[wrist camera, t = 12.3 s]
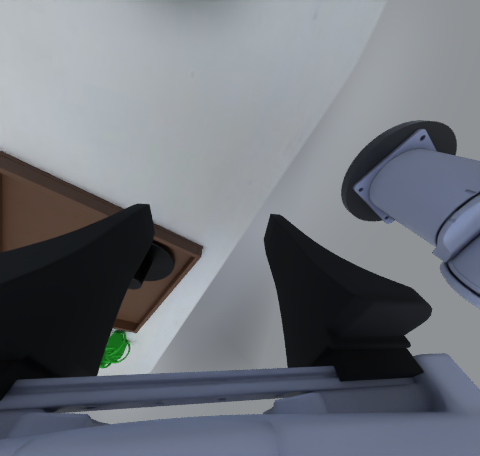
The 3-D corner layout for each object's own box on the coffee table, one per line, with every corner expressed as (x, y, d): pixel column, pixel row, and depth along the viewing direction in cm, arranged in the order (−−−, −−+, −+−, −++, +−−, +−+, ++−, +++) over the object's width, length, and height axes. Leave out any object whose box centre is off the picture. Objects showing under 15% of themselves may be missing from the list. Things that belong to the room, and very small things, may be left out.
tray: (202, 246, 24) (201, 256, 22) (140, 322, 35) (136, 333, 33) (-1, 150, 15) (-28, 155, 14) (0, 290, 26) (-14, 302, 25)
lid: (180, 243, 23) (171, 269, 19) (170, 279, 27) (162, 306, 23) (113, 227, 20) (89, 253, 17) (114, 269, 25) (94, 297, 21)
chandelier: (142, 328, 36) (127, 368, 30) (125, 353, 43) (110, 390, 37) (56, 311, 30) (18, 357, 25) (51, 343, 37) (21, 385, 32)
